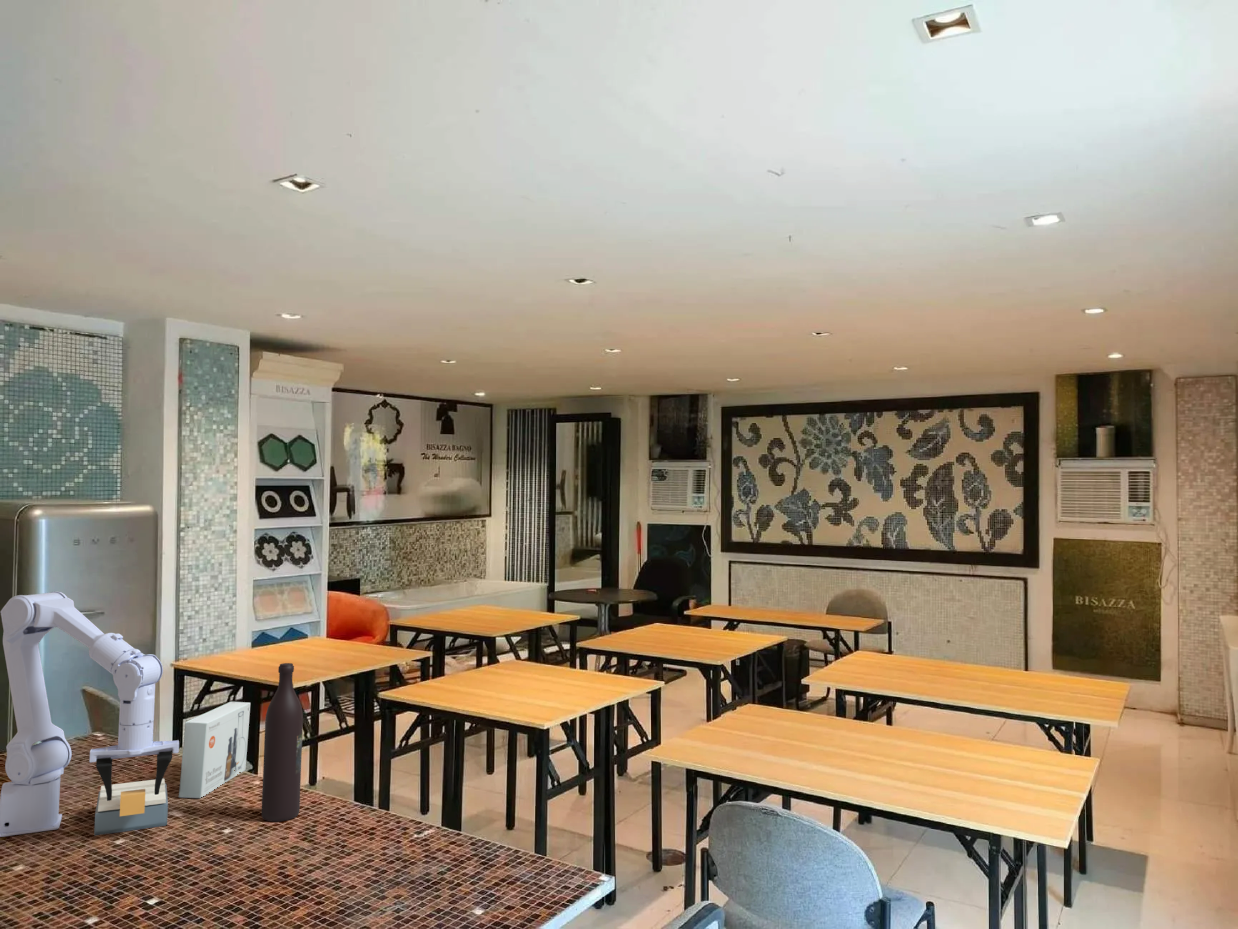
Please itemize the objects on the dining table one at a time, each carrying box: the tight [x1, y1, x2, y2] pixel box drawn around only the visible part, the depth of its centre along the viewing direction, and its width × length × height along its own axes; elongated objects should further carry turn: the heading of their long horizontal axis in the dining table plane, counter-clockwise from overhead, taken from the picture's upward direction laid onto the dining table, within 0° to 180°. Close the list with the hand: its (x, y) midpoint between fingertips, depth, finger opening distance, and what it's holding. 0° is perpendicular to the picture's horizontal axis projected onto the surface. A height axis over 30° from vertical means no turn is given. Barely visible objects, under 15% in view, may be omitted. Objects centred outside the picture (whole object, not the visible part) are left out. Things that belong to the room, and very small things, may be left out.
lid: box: [98, 778, 166, 816], centre depth 168 cm, size 11×18×4 cm, turn 29°
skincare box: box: [178, 701, 251, 799], centre depth 192 cm, size 21×6×16 cm, turn 179°
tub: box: [93, 783, 169, 837], centre depth 170 cm, size 12×14×4 cm
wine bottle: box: [261, 662, 304, 823], centre depth 173 cm, size 7×7×30 cm
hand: (133, 796), depth 161 cm, fingers open, 7 cm apart
